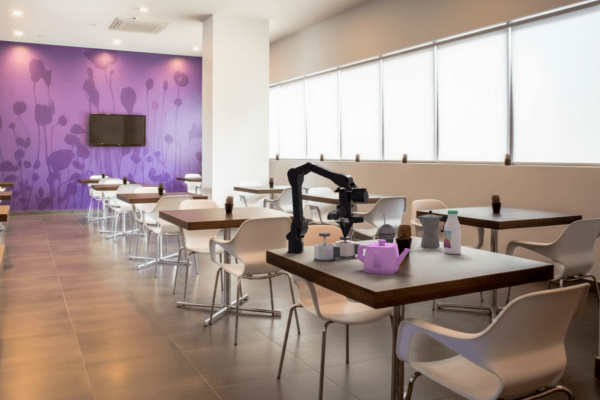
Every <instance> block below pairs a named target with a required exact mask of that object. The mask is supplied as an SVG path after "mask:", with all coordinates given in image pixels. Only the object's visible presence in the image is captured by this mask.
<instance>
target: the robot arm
mask: <svg viewBox="0 0 600 400" xmlns="http://www.w3.org/2000/svg"><path fill="white" fill-rule="evenodd" d="M309 173H313V174H316V175H318V176H320V177H323V178H325V179H328V180H330V181H331V182H332V183H333V184H335V185H336V186H338V187H337V188H336V189H335V190H333V192H334V193H338V204H336V208H335V209H333V210H331V211H329V212H328V213H327V216H326V220H327V221H335V223H336V224H338V225H339V227H340V230H341V233H342V236H343V237H347V236H348V234H349V232H350V231H351V228H353V225H354V224H360V223H361V224H362V223H364V222H365V217H364V216H362V215H354V213H352V208H354V204H368V203H369V198H370V195H369V192H368V188H367V187H362V188H361V187H358V186H357V185H356V183H355V182H354V179H353V178H354V177H353V176H352V175H351V174H347V173H345V172H344V173H342V172H337V171H334V170H332V169H329V168H326V167H324V166H323V165H320V164H318V163H315V162H313V161H308V162H305V163H304V164H302V165H298V166H297V167H291V168H289V169H288V170H287V172H286V176H287V181H288V183H289V186H290V187H291V200H292V201H291V202H292V215H293V217H292V221H291V223H290V230H289V232H287V234H286V235H285V238H286V240H287V241H288V242H287V247H288V248H287V249H288V251H286V253H291V254H301V253H303V252H305V251H304V250H305V246H304V245H305V244H304V243H305V242H304V238H305V236H306V234H307V233H308V231H309V228H310V227H309V221H308V219H307V220H306V219H305V217H304V208H303V207H304V206H303V190H302V189H303V188H302V187H303V183H304V181H305V176H307V175H308V174H309ZM352 202H353V203H354V204H352Z"/></svg>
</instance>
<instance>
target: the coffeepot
mask: <svg viewBox="0 0 600 400" xmlns="http://www.w3.org/2000/svg"><path fill="white" fill-rule="evenodd" d="M428 212H429V214H428V213H427V214H424V215H423V214H422V215H418V216H416V217H417V218H418V221H419V222H420V223H421V226H422V227H421V228H422V230H423V233H422V236H421V237H422V238H421V242H420V247H422V248H427V249H428V248H429V249H431V248H432V249H433V248H435V249H436V248H440V247H441V246H440V239H439V234H438V230H439V226H440V221H441V220H442V221H443V220H444V223H443V226H442V229H441V230H439V232H441V233H444V226H445V223H446V221H447V219H448V216H447V215H436V214H433V210H428Z"/></svg>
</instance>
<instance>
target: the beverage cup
mask: <svg viewBox="0 0 600 400" xmlns="http://www.w3.org/2000/svg"><path fill="white" fill-rule="evenodd" d="M382 216H383V224H382V225H381V226H380V227H379V229H378V233H377V234H378V238H379V239H378V240H380V239H383V240H386V242H385V243H394V239H395V235H396V233H395V229H394V227H393V226H392V225H391V224H389V223H386V217H385V213H383V215H382Z"/></svg>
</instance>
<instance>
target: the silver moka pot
mask: <svg viewBox="0 0 600 400" xmlns="http://www.w3.org/2000/svg"><path fill="white" fill-rule="evenodd" d="M313 246H314V248H313V249H314V253H313V256H314V257H313V260H314V261H316V262H334V261H335V260H336V259H341V258H340V247H335V244H334V243H327V242H326V245H323V242H322V243H321V242H320V243H316V244H314V245H313Z"/></svg>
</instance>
